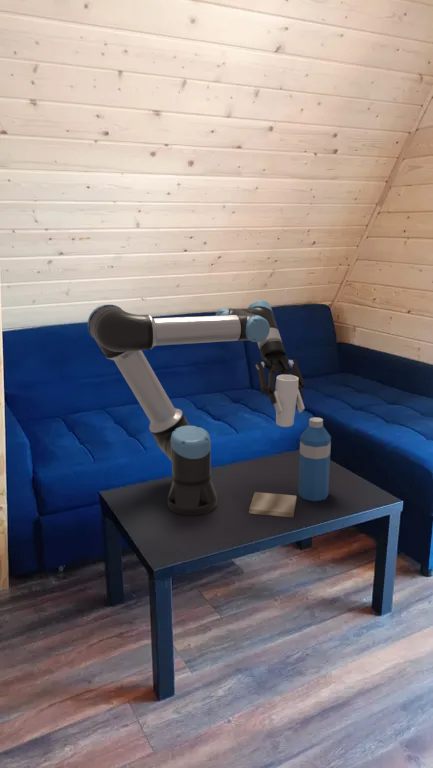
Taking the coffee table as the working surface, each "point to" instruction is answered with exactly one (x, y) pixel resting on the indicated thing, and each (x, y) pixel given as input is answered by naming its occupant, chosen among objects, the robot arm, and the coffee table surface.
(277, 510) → the birch board
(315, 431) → the water bottle
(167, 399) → the robot arm
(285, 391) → the drinking glass
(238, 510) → the coffee table surface
